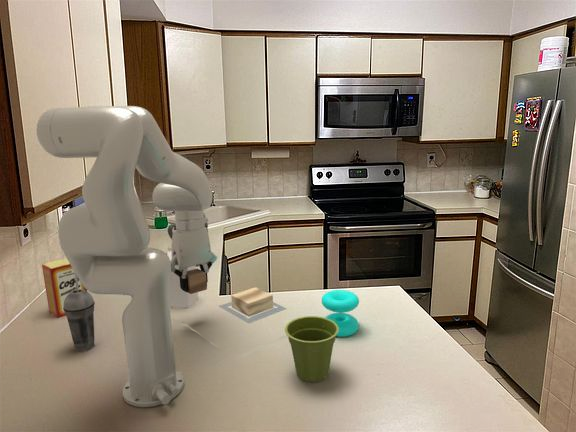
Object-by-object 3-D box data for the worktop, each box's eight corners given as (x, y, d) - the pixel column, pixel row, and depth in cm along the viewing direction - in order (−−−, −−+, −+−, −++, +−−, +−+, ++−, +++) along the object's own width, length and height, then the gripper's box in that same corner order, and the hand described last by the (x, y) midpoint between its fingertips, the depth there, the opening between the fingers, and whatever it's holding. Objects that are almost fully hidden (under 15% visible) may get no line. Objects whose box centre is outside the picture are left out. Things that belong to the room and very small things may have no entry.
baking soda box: (80, 302, 138) (73, 255, 135) (89, 307, 134) (82, 259, 130) (49, 312, 131) (41, 263, 128) (57, 318, 127) (50, 267, 123)
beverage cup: (66, 356, 105) (54, 280, 101) (72, 342, 112) (62, 271, 108) (97, 351, 107) (87, 277, 103) (102, 338, 114) (92, 267, 110)
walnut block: (206, 289, 117) (205, 272, 116) (190, 294, 114) (189, 276, 113) (198, 285, 121) (197, 268, 120) (182, 289, 118) (180, 272, 117)
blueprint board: (286, 311, 127) (286, 308, 127) (248, 325, 119) (248, 322, 118) (255, 295, 139) (255, 293, 139) (219, 308, 130) (218, 305, 130)
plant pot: (275, 374, 95) (273, 328, 93) (310, 354, 103) (310, 311, 101) (314, 397, 87) (313, 347, 84) (349, 373, 95) (349, 327, 92)
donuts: (366, 295, 112) (341, 306, 106) (366, 330, 114) (341, 342, 108) (339, 285, 120) (313, 295, 114) (339, 318, 122) (314, 329, 116)
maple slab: (273, 307, 128) (272, 295, 127) (248, 316, 123) (248, 303, 122) (255, 298, 135) (255, 287, 134) (231, 307, 129) (231, 294, 128)
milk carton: (189, 310, 129) (184, 251, 125) (167, 309, 131) (162, 250, 127) (198, 301, 136) (194, 244, 132) (178, 300, 138) (173, 244, 134)
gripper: (210, 218, 122) (214, 278, 126) (154, 227, 112) (159, 292, 115) (224, 221, 117) (227, 284, 120) (166, 231, 106) (171, 300, 109)
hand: (194, 287), depth 117 cm, fingers closed on walnut block, 5 cm apart
